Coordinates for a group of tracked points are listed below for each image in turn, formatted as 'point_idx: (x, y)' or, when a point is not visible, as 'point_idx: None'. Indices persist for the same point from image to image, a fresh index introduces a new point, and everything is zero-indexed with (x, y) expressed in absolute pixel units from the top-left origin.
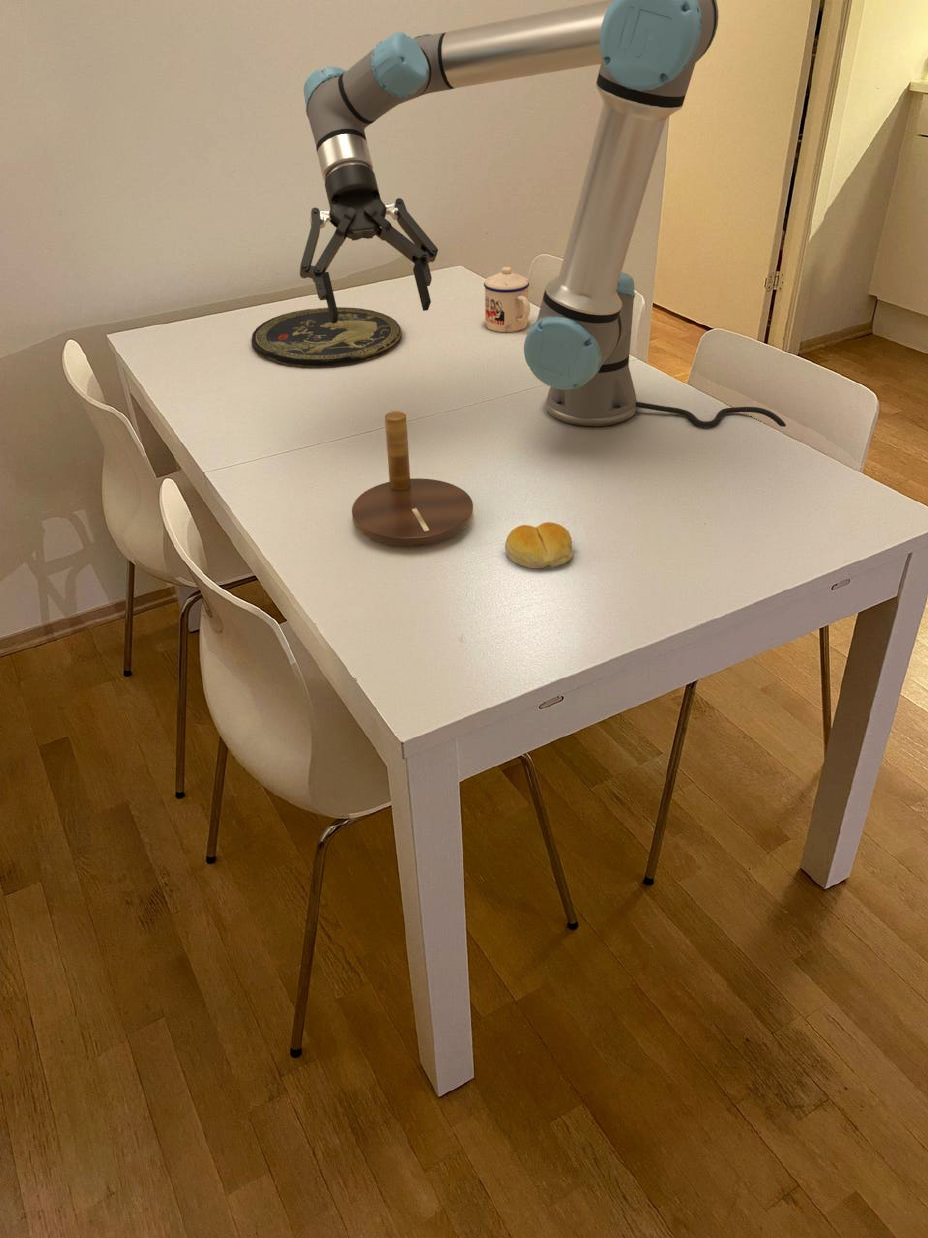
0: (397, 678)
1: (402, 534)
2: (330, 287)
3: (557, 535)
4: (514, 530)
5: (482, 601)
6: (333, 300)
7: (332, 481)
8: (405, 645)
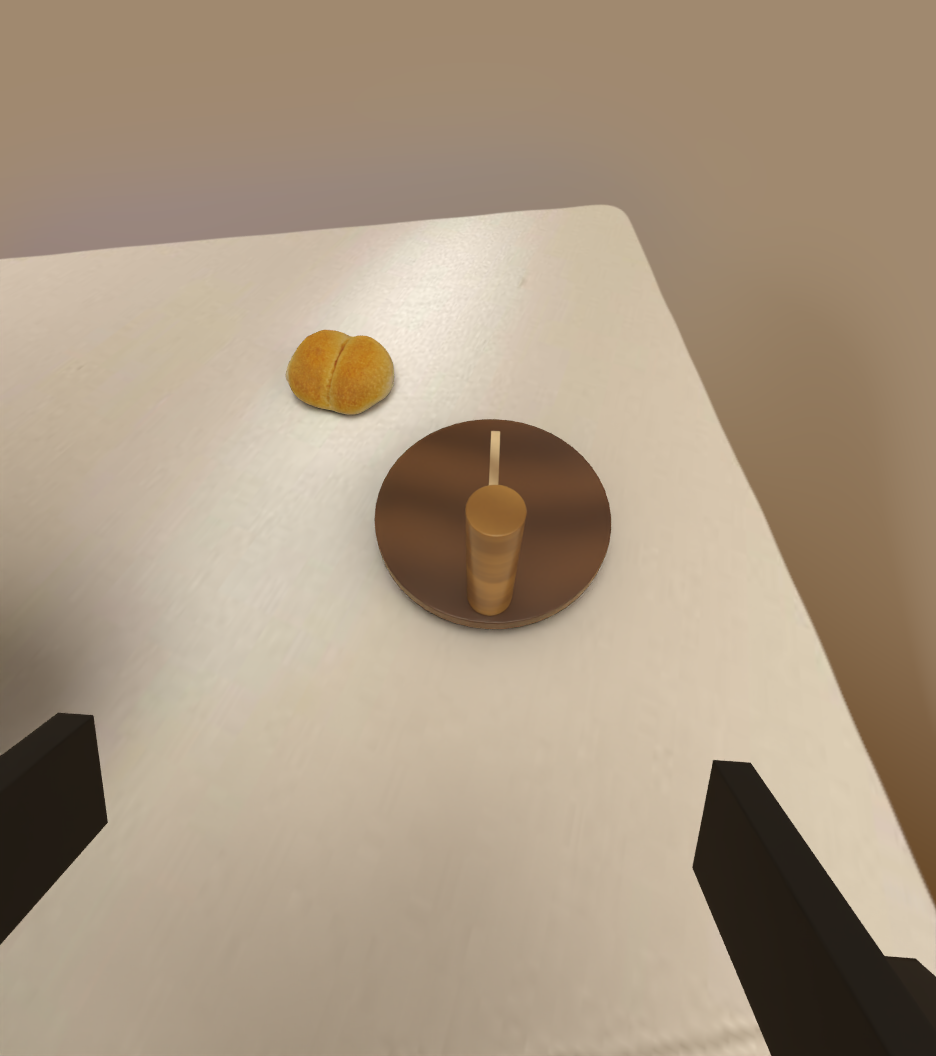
0: (610, 256)
1: (538, 436)
2: (854, 967)
3: (320, 335)
4: (368, 373)
5: (470, 325)
6: (777, 846)
7: (615, 763)
8: (589, 291)
